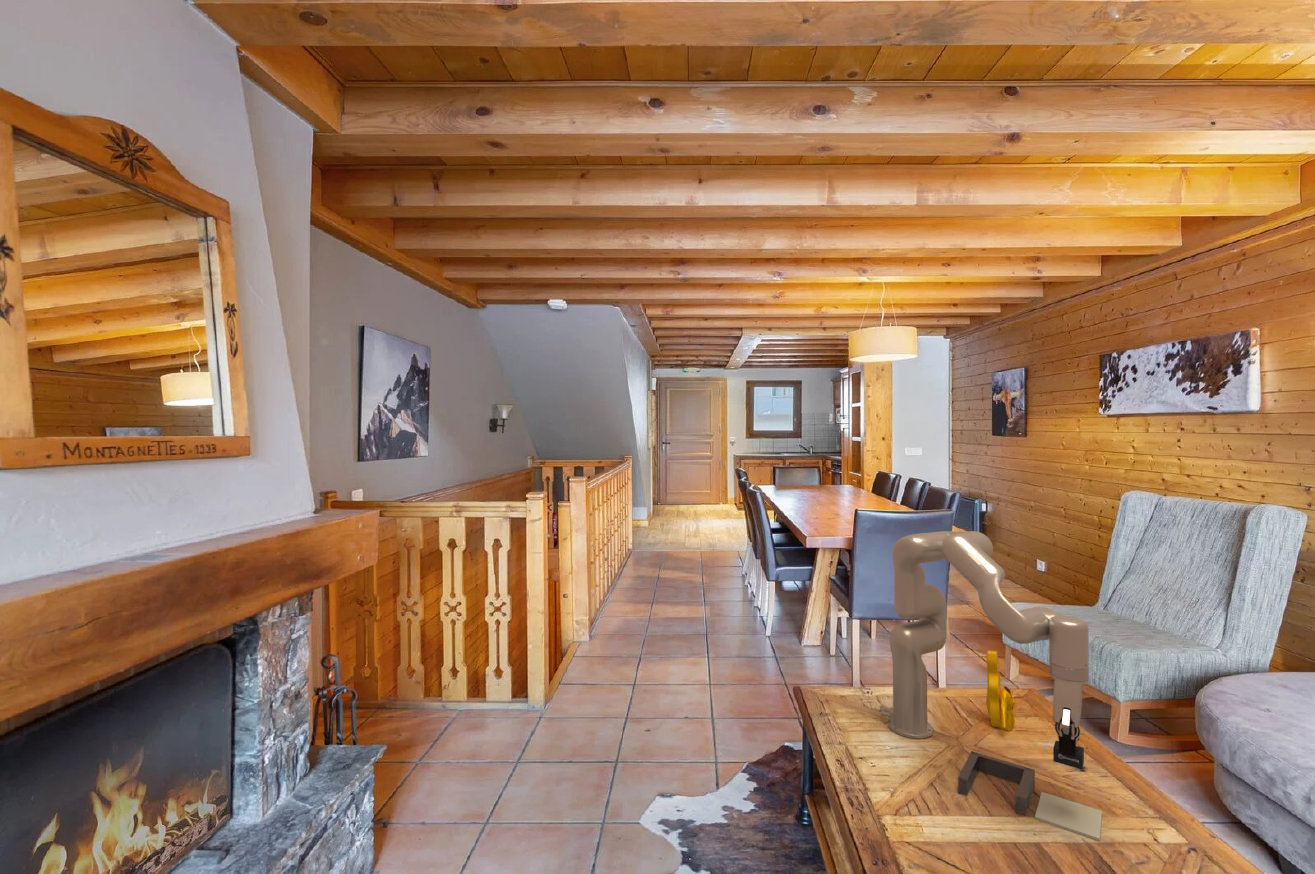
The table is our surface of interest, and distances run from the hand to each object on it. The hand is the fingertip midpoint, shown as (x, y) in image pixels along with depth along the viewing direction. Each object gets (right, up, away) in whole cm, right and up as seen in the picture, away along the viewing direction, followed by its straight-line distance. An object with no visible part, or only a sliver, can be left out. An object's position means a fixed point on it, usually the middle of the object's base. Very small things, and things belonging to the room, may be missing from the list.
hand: (1069, 746), depth 139 cm
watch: (0, -4, 0) cm, 4 cm away
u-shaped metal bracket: (-11, -16, +11) cm, 22 cm away
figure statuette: (+9, -16, +43) cm, 47 cm away
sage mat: (0, -16, 0) cm, 16 cm away
